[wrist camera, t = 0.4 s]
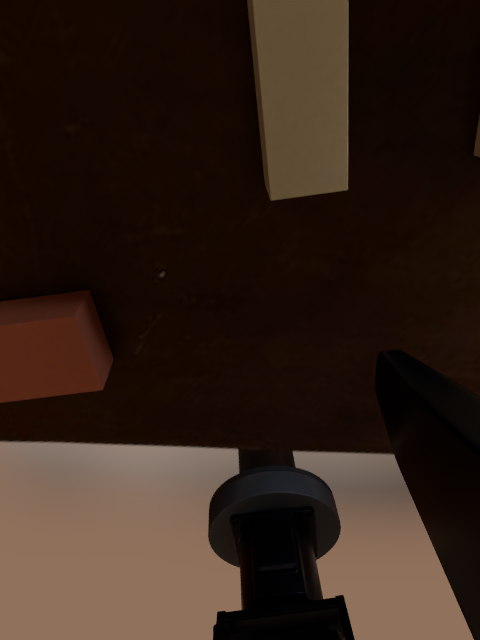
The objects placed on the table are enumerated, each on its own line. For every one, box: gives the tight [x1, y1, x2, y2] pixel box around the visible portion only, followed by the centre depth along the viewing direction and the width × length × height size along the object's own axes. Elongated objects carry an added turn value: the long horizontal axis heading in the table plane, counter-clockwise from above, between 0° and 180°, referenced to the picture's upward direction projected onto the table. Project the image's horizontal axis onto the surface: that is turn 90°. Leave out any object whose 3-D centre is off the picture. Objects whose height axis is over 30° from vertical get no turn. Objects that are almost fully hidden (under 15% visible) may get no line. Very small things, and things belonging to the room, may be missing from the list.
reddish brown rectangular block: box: [0, 290, 114, 403], centre depth 25 cm, size 7×5×3 cm
